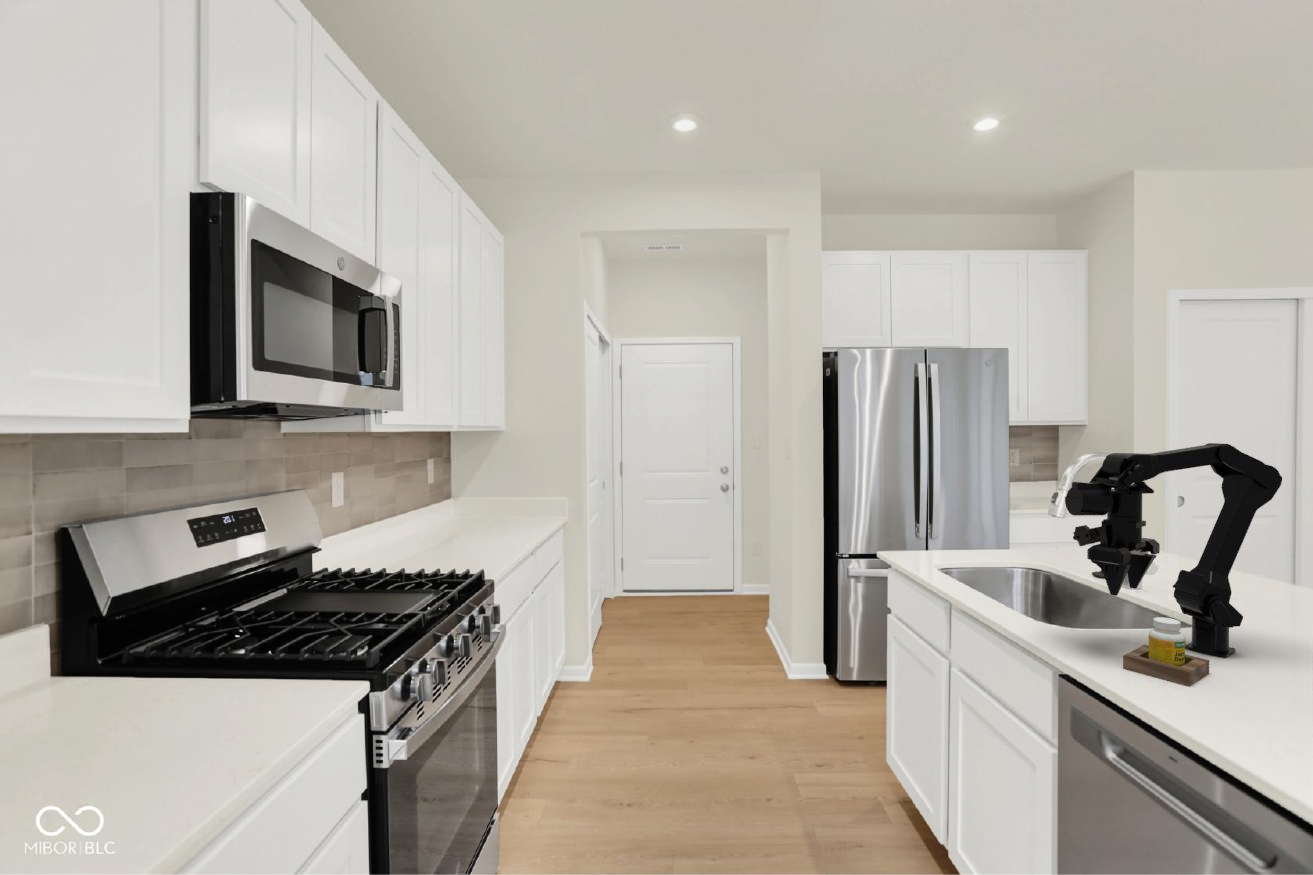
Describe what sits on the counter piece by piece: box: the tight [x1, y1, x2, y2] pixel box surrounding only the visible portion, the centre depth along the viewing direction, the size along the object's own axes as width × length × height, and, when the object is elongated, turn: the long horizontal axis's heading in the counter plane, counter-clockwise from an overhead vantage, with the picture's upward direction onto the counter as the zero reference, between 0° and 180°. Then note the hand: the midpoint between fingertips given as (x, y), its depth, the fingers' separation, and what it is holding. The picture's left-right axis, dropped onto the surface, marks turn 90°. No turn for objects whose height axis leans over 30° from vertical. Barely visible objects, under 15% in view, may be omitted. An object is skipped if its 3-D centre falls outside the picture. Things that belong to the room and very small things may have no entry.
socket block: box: [1122, 644, 1210, 687], centre depth 119 cm, size 10×10×2 cm
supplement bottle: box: [1148, 616, 1186, 667], centre depth 119 cm, size 5×5×10 cm
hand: (1123, 591), depth 130 cm, fingers open, 9 cm apart
